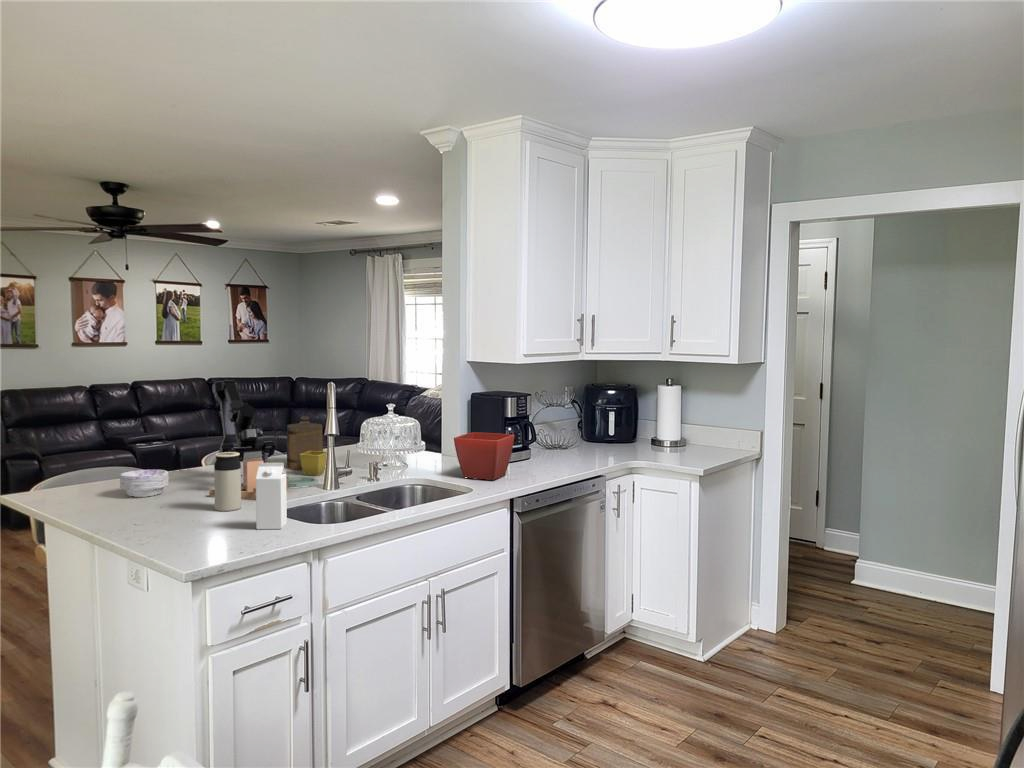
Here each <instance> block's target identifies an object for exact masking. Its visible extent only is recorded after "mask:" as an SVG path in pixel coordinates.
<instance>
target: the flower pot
mask: <svg viewBox="0 0 1024 768" xmlns="http://www.w3.org/2000/svg"><path fill="white" fill-rule="evenodd" d="M327 452H328V451H324V450H323V451H307V452H305V453H302V454H300V461H301V467H302V470H301V471H303V474H304V475H305V476H312V475H315V477H317V475H318V476H320V475H322V473H323V474H324V472H325V471H324V470H326V469H325V465H326V455H327Z"/></svg>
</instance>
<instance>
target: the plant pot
mask: <svg viewBox="0 0 1024 768" xmlns="http://www.w3.org/2000/svg"><path fill="white" fill-rule="evenodd" d="M514 440H515V434H513V433H511V434H510V433H493V432H478V431H477V432H476V431H474V432H473V431H472V432H469V433H465V434H462V435H461V434H460V435H459V436H456V437H453V443H454V449H455V453H456V458H457V461H458V464H459V467H460V470H461V474H462V476H463V478H464V477H467V478H476V479H486V480H485V481H488V480H494V481H496V480H498V479H500V478H502V477H504V476H505V475H506V472H507V470H508V467H509V463H510V461H511V456H512V452H513V447H514ZM497 478H498V479H497ZM476 479H475V480H476ZM495 479H496V480H495Z"/></svg>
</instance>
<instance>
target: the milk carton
mask: <svg viewBox="0 0 1024 768" xmlns="http://www.w3.org/2000/svg"><path fill="white" fill-rule="evenodd" d="M284 466H285V463H284V462H267V463H259V468H258V472H257V476H256V500H255V509H256V510H255V512H256V514H255V515H256V516H255V518H256V521H255V523H256V524H255V525H256V528H255V529H256V530H281V529H283V528H284V527H285V525H286V524H287V523H288V522H287V519H288V517H287V509H288V508H287V501H288V500H287V489H286V477H287V472H286V469H285V467H284Z"/></svg>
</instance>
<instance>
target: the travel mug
mask: <svg viewBox="0 0 1024 768" xmlns="http://www.w3.org/2000/svg"><path fill="white" fill-rule="evenodd" d="M239 455H240V453H238V452H222V453H219V452H217V453H215V454H214V456H215V459H216V460H215V462H214V464H213V468H214V470H213V472H214V474H213V475H214V477H213V478H214V483H213V484H214V489H215V497H214V509H215V511H218V512H233V511H238V510H239V509H241V508H242V499H241V488H242V487H241V483H242V477H241V475H242V468H241V467H242V465H241V463H242V462H240V461H239V459H238V458H239Z"/></svg>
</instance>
